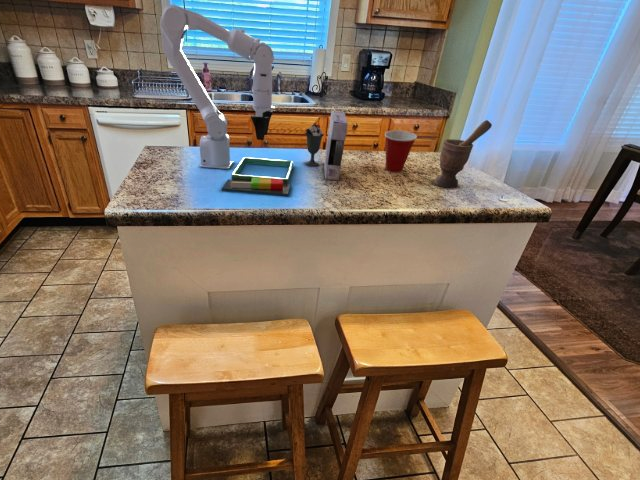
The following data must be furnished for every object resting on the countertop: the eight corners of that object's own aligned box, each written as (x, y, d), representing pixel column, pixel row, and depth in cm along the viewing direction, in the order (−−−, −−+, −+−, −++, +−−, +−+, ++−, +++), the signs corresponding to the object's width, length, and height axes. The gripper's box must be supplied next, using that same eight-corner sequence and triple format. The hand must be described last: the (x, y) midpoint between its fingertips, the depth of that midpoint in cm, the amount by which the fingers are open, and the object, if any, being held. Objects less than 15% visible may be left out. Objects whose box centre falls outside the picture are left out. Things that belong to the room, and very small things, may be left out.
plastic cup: (375, 171, 133) (382, 134, 126) (381, 163, 141) (387, 128, 134) (406, 176, 130) (415, 139, 123) (411, 168, 138) (419, 133, 131)
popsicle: (283, 190, 110) (283, 183, 109) (230, 188, 109) (230, 182, 108) (282, 184, 114) (282, 177, 113) (232, 182, 113) (232, 176, 112)
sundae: (321, 162, 138) (325, 117, 130) (320, 167, 133) (325, 121, 124) (303, 160, 139) (306, 115, 130) (302, 166, 133) (305, 119, 125)
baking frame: (231, 181, 117) (231, 174, 115) (243, 163, 133) (243, 157, 132) (287, 185, 116) (287, 179, 115) (292, 166, 132) (293, 161, 131)
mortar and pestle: (461, 180, 129) (481, 116, 117) (473, 189, 122) (496, 121, 110) (428, 180, 128) (446, 114, 116) (439, 188, 121) (459, 120, 109)
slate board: (221, 191, 109) (221, 188, 109) (228, 182, 116) (227, 179, 115) (287, 196, 108) (287, 193, 108) (290, 187, 115) (290, 184, 114)
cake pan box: (340, 182, 121) (348, 121, 111) (324, 181, 121) (331, 120, 111) (337, 164, 137) (344, 110, 126) (323, 163, 137) (329, 109, 127)
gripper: (272, 94, 111) (271, 143, 119) (278, 88, 123) (276, 133, 131) (248, 92, 112) (249, 141, 120) (256, 86, 124) (256, 131, 131)
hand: (262, 137), depth 125 cm, fingers open, 7 cm apart
